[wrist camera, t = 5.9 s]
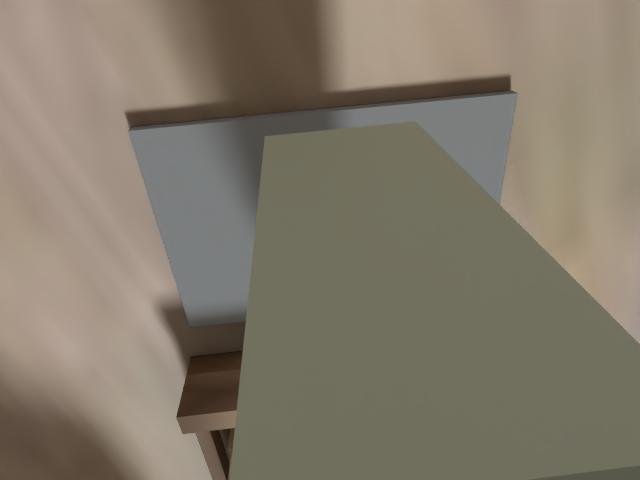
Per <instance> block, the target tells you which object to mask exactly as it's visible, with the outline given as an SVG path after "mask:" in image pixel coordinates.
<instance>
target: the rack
mask: <svg viewBox="0 0 640 480" xmlns="http://www.w3.org/2000/svg"><path fill="white" fill-rule="evenodd" d="M242 353H243V351H240V352H231V353H222V354H214V355H205V356H196V357H191V359H190V363H189V367H188V371H187V375H186V379H185V384H184V388H183V392H182V396H181V400H180V404H179V408H178V413H177V417H176V418H177V421H178V423H179V426H180V428H181V431H182V433H183V434H187V433H196V435H197V438H198V441H199V444H200V446H201V449H202V452H203V454H204V457H205V460H206V462H207V465H208V468H209V471H210V473H211V476H212V479H213V480H228V476H229V466H230V454H229V451H228V443H229V434H230V428H235V421H236V412H237V402H238V392H239V382H240V373H241V363H242Z"/></svg>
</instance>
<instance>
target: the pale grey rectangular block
mask: <svg viewBox="0 0 640 480" xmlns="http://www.w3.org/2000/svg"><path fill="white" fill-rule="evenodd" d="M230 480H640V344H639V343H638V342H637V341H636V340H635V339H634V338H633V337H632V336H631V335H630V334H629V333H628V332H627V331H626V330H625V329H624V328H623V327H622V326H621V325H620V324H619V323H618V322H617V321H616V320H615V319H614V318H613V317H612V316H611V315H610V314H609V313H608V312H607V311H606V310H605V309H604V308H603V307H602V306H601V305H600V304H599V303H598V302H597V301H596V300H595V299H594V298H593V297H592V296H591V295H590V294H589V293H588V292H587V291H586V290H585V289H584V288H583V287H582V286H581V285H580V284H579V283H578V282H577V281H576V280H575V279H574V278H573V277H572V276H571V275H570V274H569V273H568V272H567V271H566V270H565V269H564V268H563V267H562V266H561V265H560V264H559V263H558V262H557V261H556V260H555V259H554V258H553V257H552V256H551V255H550V254H549V253H548V252H547V251H546V250H545V249H544V248H542V247H541V246H540V245H539V244H538V243H537V242H536V241H535V240H534V239H533V238H532V237H531V236H530V235H529V234H528V233H527V232H526V231H525V230H524V229H523V228H522V227H521V226H520V225H519V224H518V223H517V222H516V221H515V220H514V219H513V218H512V217H511V216H510V215H509V214H508V213H507V212H506V211H505V210H504V209H503V208H502V207H501V206H500V205H499V204H498V203H497V202H496V201H495V200H494V199H493V198H492V197H491V196H490V195H489V194H488V193H487V192H486V191H485V190H484V189H483V188H482V187H481V186H480V185H479V184H478V183H477V182H476V181H475V180H474V179H473V178H472V177H471V176H470V175H469V174H468V173H467V172H466V171H465V170H464V169H463V168H462V167H461V166H460V165H459V164H458V163H457V162H456V161H455V160H454V159H453V158H452V157H451V156H450V155H449V154H448V153H447V152H446V151H445V150H444V149H443V148H442V147H441V146H440V145H439V144H438V143H437V142H436V141H435V140H434V139H433V138H432V137H431V136H430V135H429V134H428V133H427V132H426V131H425V130H424V129H423V128H422V127H421V126H420V125H419V124H418V123H417V122H416V121H413V122H403V123H393V124H383V125H373V126H363V127H353V128H343V129H333V130H323V131H313V132H303V133H293V134H283V135H272V136H265V139H264V149H263V159H262V168H261V178H260V188H259V198H258V207H257V217H256V227H255V237H254V246H253V256H252V266H251V275H250V285H249V295H248V305H247V314H246V324H245V334H244V344H243V353H242V363H241V373H240V382H239V392H238V402H237V412H236V421H235V431H234V441H233V451H232V460H231V470H230Z"/></svg>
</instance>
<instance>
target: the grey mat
mask: <svg viewBox="0 0 640 480" xmlns="http://www.w3.org/2000/svg"><path fill="white" fill-rule="evenodd" d="M517 94H518V93H516V92H514V91H512V90H511V91H501V92H490V93H480V94H470V95H459V96H449V97H439V98H428V99H418V100H408V101H397V102H387V103H377V104H366V105H356V106H346V107H335V108H325V109H315V110H304V111H294V112H283V113H273V114H263V115H252V116H242V117H232V118H221V119H211V120H201V121H190V122H180V123H170V124H159V125H149V126H139V127H132V128H131V129H130V130H129V131H128V132H129V136H130V139H131V142H132V145H133V148H134V151H135V155H136V158H137V161H138V164H139V167H140V171H141V174H142V177H143V180H144V183H145V186H146V190H147V193H148V196H149V199H150V202H151V205H152V209H153V212H154V215H155V218H156V221H157V225H158V228H159V231H160V234H161V237H162V240H163V244H164V247H165V250H166V253H167V256H168V259H169V263H170V266H171V269H172V272H173V275H174V279H175V282H176V285H177V288H178V291H179V294H180V298H181V301H182V304H183V307H184V310H185V313H186V317H187V320H188V323H189V326H190V328H192V327H201V326H210V325H219V324H229V323H238V322H246V314H247V305H248V295H249V285H250V275H251V266H252V256H253V246H254V237H255V227H256V217H257V207H258V198H259V188H260V178H261V168H262V159H263V149H264V139H265V136H272V135H283V134H293V133H303V132H313V131H323V130H333V129H343V128H353V127H363V126H373V125H383V124H393V123H403V122H413V121H416V122H417V123H418V124H419V125H420V126H421V127H422V128H423V129H424V130H425V131H426V132H427V133H428V134H429V135H430V136H431V137H432V138H433V139H434V140H435V141H436V142H437V143H438V144H439V145H440V146H441V147H442V148H443V149H444V150H445V151H446V152H447V153H448V154H449V155H450V156H451V157H452V158H453V159H454V160H455V161H456V162H457V163H458V164H459V165H460V166H461V167H462V168H463V169H464V170H465V171H466V172H467V173H468V174H469V175H470V176H471V177H472V178H473V179H474V180H475V181H476V182H477V183H478V184H479V185H480V186H481V187H482V188H483V189H484V190H485V191H486V192H487V193H488V194H489V195H490V196H491V197H492V198H493V199H494V200H495V201H496V202H497V203H498V204H499V205H500V199H501V193H502V186H503V180H504V174H505V168H506V162H507V155H508V149H509V143H510V137H511V131H512V124H513V118H514V112H515V106H516V100H517Z"/></svg>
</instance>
